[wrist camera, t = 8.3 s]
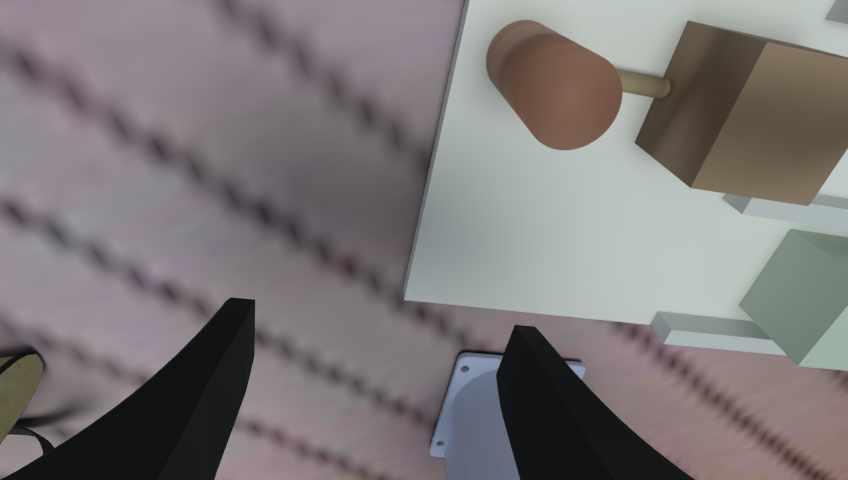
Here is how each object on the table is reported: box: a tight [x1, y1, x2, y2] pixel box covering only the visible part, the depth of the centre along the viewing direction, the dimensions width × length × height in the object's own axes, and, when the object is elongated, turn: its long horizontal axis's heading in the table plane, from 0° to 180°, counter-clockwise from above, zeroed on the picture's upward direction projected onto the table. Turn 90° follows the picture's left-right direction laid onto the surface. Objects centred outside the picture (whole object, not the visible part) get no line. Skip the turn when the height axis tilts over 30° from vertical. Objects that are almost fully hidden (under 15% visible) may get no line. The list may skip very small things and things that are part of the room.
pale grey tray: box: [404, 0, 848, 355], centre depth 22 cm, size 17×26×2 cm, turn 79°
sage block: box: [739, 229, 848, 371], centre depth 24 cm, size 5×5×4 cm
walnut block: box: [486, 20, 848, 206], centre depth 17 cm, size 5×12×6 cm, turn 79°
